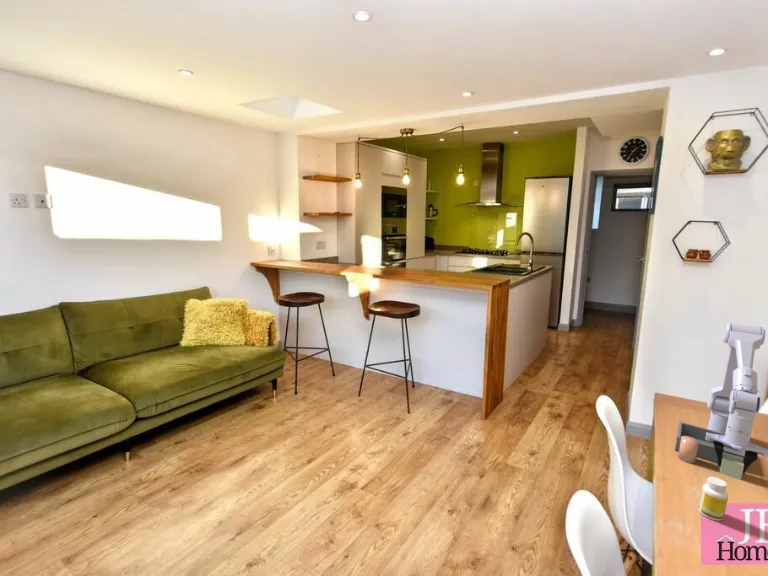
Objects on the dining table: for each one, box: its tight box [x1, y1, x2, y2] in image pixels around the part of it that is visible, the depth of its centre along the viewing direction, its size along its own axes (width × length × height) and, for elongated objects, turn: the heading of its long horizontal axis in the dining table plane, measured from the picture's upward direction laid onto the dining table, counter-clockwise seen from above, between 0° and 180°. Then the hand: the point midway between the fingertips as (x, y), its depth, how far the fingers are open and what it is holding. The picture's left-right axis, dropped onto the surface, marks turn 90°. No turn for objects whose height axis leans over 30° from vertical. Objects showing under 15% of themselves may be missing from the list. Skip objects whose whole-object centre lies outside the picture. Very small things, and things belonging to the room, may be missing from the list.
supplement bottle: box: [698, 476, 729, 521], centre depth 109 cm, size 5×5×10 cm
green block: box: [719, 452, 744, 481], centre depth 128 cm, size 5×5×5 cm
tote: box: [674, 420, 745, 464], centre depth 139 cm, size 18×14×5 cm
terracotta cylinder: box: [677, 436, 699, 465], centre depth 134 cm, size 5×5×7 cm
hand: (730, 468), depth 128 cm, fingers open, 5 cm apart
